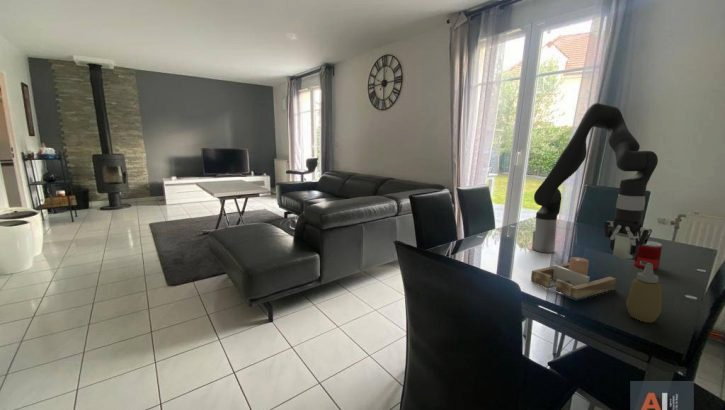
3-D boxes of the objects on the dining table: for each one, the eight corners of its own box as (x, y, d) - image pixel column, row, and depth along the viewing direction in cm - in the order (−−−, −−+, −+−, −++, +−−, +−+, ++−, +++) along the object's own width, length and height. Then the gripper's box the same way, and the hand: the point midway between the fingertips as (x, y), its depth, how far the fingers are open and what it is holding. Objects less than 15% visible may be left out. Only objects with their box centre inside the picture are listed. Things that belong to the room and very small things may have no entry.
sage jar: (609, 254, 112) (612, 232, 110) (619, 252, 114) (622, 230, 112) (626, 259, 107) (629, 236, 105) (636, 257, 109) (639, 234, 107)
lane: (531, 281, 121) (531, 269, 120) (567, 272, 128) (568, 261, 127) (575, 301, 105) (577, 288, 104) (614, 289, 112) (616, 277, 111)
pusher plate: (530, 284, 118) (532, 270, 117) (554, 278, 122) (556, 264, 121) (562, 299, 106) (564, 283, 105) (588, 292, 110) (589, 276, 109)
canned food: (663, 270, 126) (667, 246, 124) (641, 269, 128) (644, 245, 126) (650, 264, 134) (653, 240, 132) (629, 263, 135) (632, 240, 133)
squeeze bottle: (617, 312, 97) (624, 259, 94) (640, 310, 98) (648, 258, 95) (642, 326, 89) (651, 269, 86) (667, 324, 90) (676, 268, 87)
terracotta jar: (564, 282, 119) (566, 258, 118) (574, 279, 121) (576, 256, 120) (579, 288, 114) (581, 263, 112) (589, 285, 116) (592, 261, 114)
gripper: (661, 210, 102) (653, 257, 105) (614, 203, 115) (608, 244, 118) (647, 212, 99) (639, 260, 102) (601, 204, 112) (595, 247, 116)
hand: (623, 251), depth 110 cm, fingers closed on sage jar, 5 cm apart
